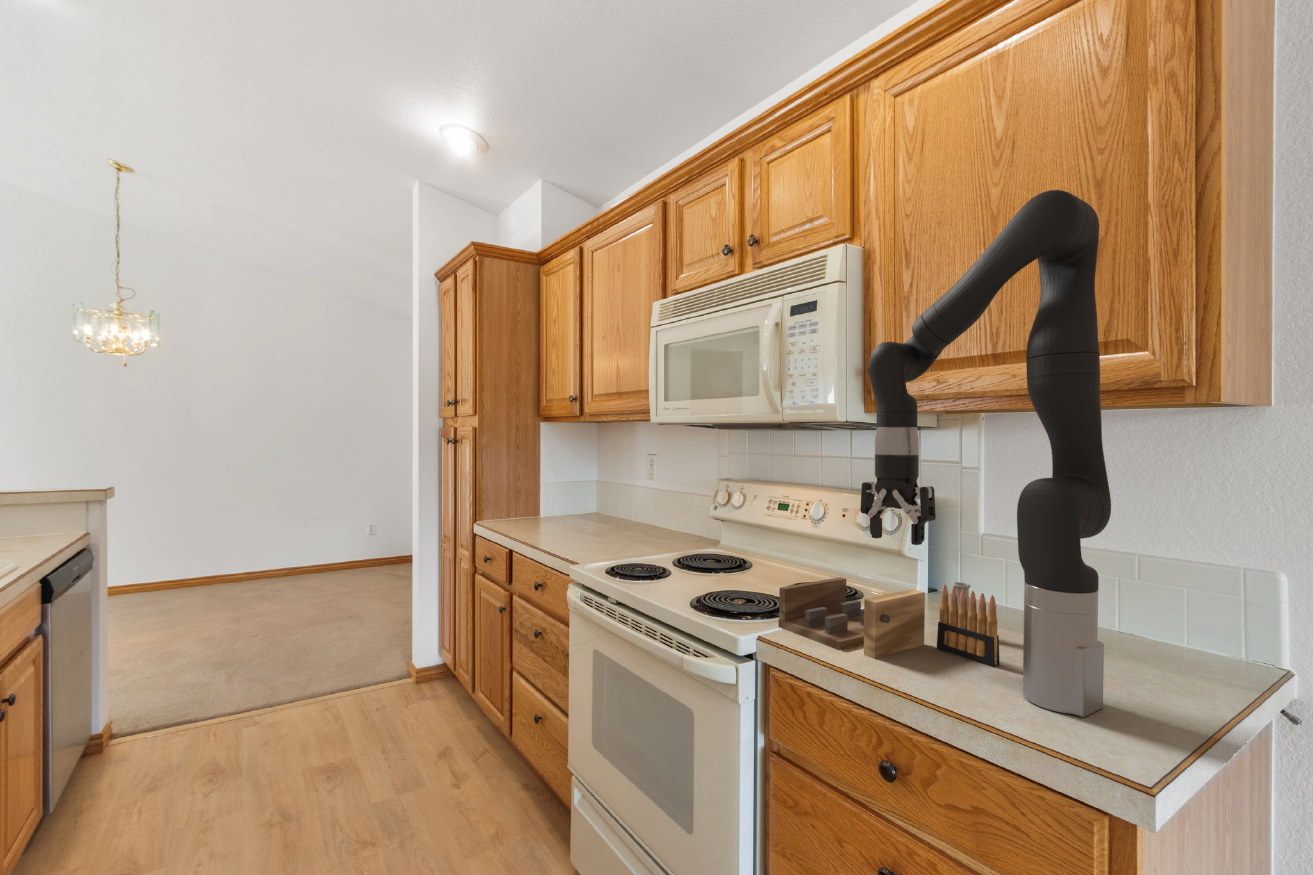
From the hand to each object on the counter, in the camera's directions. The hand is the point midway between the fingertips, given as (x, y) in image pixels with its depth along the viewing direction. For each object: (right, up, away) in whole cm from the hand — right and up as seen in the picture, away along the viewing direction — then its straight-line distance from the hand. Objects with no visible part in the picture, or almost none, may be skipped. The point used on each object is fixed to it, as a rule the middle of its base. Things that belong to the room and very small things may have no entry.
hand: (896, 541), depth 114 cm
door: (0, -20, 0) cm, 20 cm away
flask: (+17, -20, +9) cm, 28 cm away
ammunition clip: (+11, -20, -3) cm, 23 cm away
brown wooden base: (-7, -20, +11) cm, 24 cm away
